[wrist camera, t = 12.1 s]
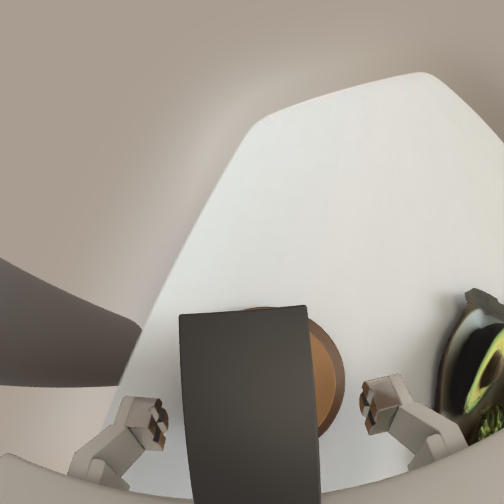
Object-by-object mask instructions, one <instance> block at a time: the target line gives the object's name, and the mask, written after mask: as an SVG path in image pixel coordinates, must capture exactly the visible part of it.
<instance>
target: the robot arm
mask: <svg viewBox="0 0 504 504" xmlns="http://www.w3.org/2000/svg"><path fill="white" fill-rule="evenodd" d="M362 388H363V392H362V393H361V394H360V399H359V401H360V410H361V413H362V415H363V416H365V417H366V421H365V425H366V428H367V431H368V434H369V435H374V434H378V433H382V432H386V431H388V433H390V434H391V435H392V436H393V437H394V438H396V439H397V440H398V441H399V442H400V443H402V444H403V445H404V446H405V447H406V448H408V449H409V450H410V451H411V452H413V453H414V454H415V457H414V458H413V460H412V461H411V462H410V464H409V465H408V469H409V472H406V473H403V474H400V475H396V476H393V477H390V478H386V479H383V480H380V481H376V482H372V483H368V484H364V485H360V486H356V487H352V488H347V489H342V490H337V491H332V492H326V493H321V504H504V428H502V429H501V430H499V431H497V432H496V433H494V434H492V435H490V436H488V437H487V438H485V439H483V440H481V441H479V442H477V443H475V444H473V445H471V446H468V444H467V442H466V440H465V438H464V436H463V434H462V432H461V430H460V428H459V427H458V425H457V424H456V423H454V422H452V421H450V420H449V419H447V418H445V417H443V416H442V415H440V414H438V413H437V412H435V411H433V410H431V409H430V408H428V407H426V406H425V405H423V404H421V403H420V402H418V401H415V402H414V401H413V399H412V397H411V395H410V393H409V391H408V389H407V387H406V385H405V383H404V381H403V379H402V377H401V375H400V374H395V375H391V376H385V377H381V378H377V379H373V380H368V381H364V383H363V386H362ZM161 406H162V402H161V400H160V399H158V398H144V397H132V396H125V397H124V398H123V400H122V402H121V405H120V408H119V411H118V413H117V416H116V419H115V422H114V425H110V426H108V427H107V428H106V429H105V430H103V431H102V432H101V433H100V434H98V435H97V436H96V437H95V438H93V439H92V440H91V441H89V442H88V443H87V444H86V445H85V446H83V447H82V448H81V449H79V450H78V451H77V452H75V455H74V457H73V460H72V462H71V465H70V468H69V471H68V473H67V475H64V474H61V473H58V472H55V471H53V470H50V469H47V468H44V467H42V466H39V465H37V464H34V463H32V462H29V461H27V460H24V459H22V458H20V457H18V456H16V455H13V454H9V453H8V454H5V455H3V456H1V457H0V504H194V500H193V499H181V498H171V497H163V496H155V495H148V494H142V493H136V492H131V491H129V487H130V486H129V485H128V483H126V482H125V481H124V480H123V479H122V478H121V476H122V475H123V474H124V473H125V472H126V471H127V470H128V469H129V467H130V466H131V465H132V464H133V463H134V462H135V461H136V460H137V459H138V458H139V457H140V455H141V454H142V453H143V452H144V451H145V450H155V451H163V449H164V444H165V439H166V438H165V437H164V435H163V434H164V433H165V432H166V431H167V430H168V415H167V412H166V410H165V409H163V408H162V407H161Z"/></svg>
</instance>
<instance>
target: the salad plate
mask: <svg viewBox="0 0 504 504" xmlns="http://www.w3.org/2000/svg"><path fill="white" fill-rule="evenodd" d="M465 297H466V301H467V306H466V309H465V312H464V314H463V316H462V318H461V319H460V321H459V322H458V324H457V325H456V327H455V329H454V331H453V333H452V334H451V336H450V338H449V340H448V343H447V345H446V347H445V351H444V354H443V357H442V360H441V364H440V368H439V374H438V383H437V390H436V399H435V406H434V411H435V412H437V413H438V414H440V415H442V416H443V417H445V418H447V419H449V420H450V421H452V422H454V423H456V424H457V425H458V427H459V428H460V430H461V432H462V434H463V436H464V438H465V440H466V442H467V444H468V446H471V445H473V444H475V443H477V442H479V441H481V440H483V439H485V438H487V437H488V436H490V435H492V434H494V433H496V432H497V431H499V430H501V429H502V428H504V305H503V304H500V303H499V302H498V300H497V298H495V297H493V296H492V295H490V294H488V293H486V292H484V291H482V290H479V289H476V288H473V289H471V290H470V291H468V292H466V293H465Z"/></svg>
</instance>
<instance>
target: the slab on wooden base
mask: <svg viewBox="0 0 504 504" xmlns="http://www.w3.org/2000/svg"><path fill="white" fill-rule="evenodd" d="M179 344H180V367H181V385H182V400H183V413H184V425H185V435H186V445H187V454H188V463H189V471H190V479H191V486H192V493H193V500H194V504H321V483H320V459H319V440H318V427H319V426H320V425H321V423H322V422H323V421H324V420H325V418H326V416H327V414H328V413H329V411H330V408H331V406H332V403H333V399H334V395H335V387H336V381H335V372H334V367H333V364H332V361H331V359H330V356H329V354H328V352H327V351H326V349H325V348H324V346H323V345H322V343H321V342H320V341H319V340H318V339H317V338H316V337H315V336H314V335H313V334H312V333H311V332H309V322H308V313H307V307H306V305H297V306H287V307H277V308H266V309H254V310H242V311H228V312H213V313H196V314H181V315H179Z"/></svg>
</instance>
